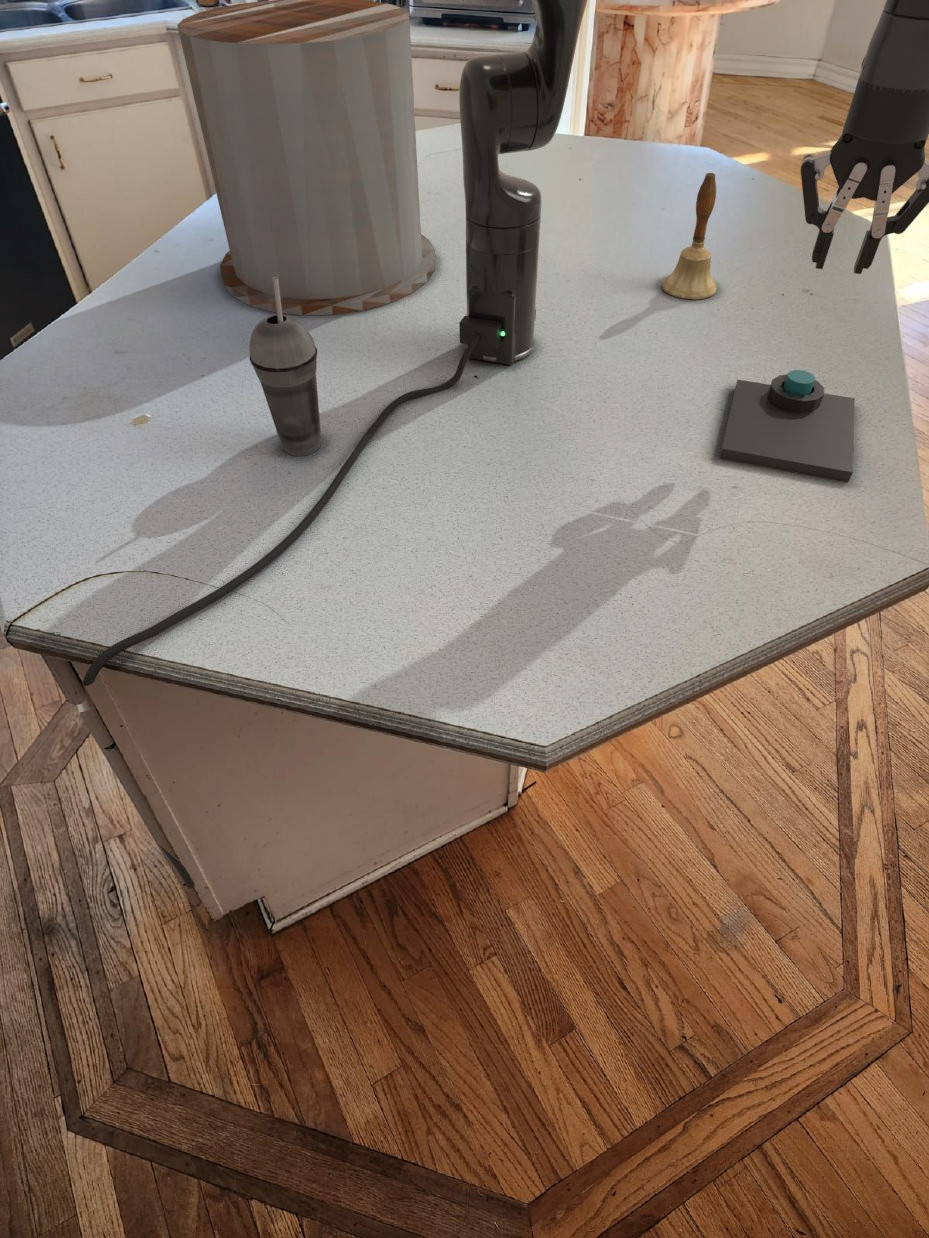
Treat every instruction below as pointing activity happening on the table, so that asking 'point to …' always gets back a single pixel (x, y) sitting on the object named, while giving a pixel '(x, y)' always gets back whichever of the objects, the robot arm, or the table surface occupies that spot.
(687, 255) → the hand bell
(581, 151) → the table surface
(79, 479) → the table surface
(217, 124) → the storage basket
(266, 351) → the beverage cup
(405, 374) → the table surface
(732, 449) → the scale
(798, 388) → the button
